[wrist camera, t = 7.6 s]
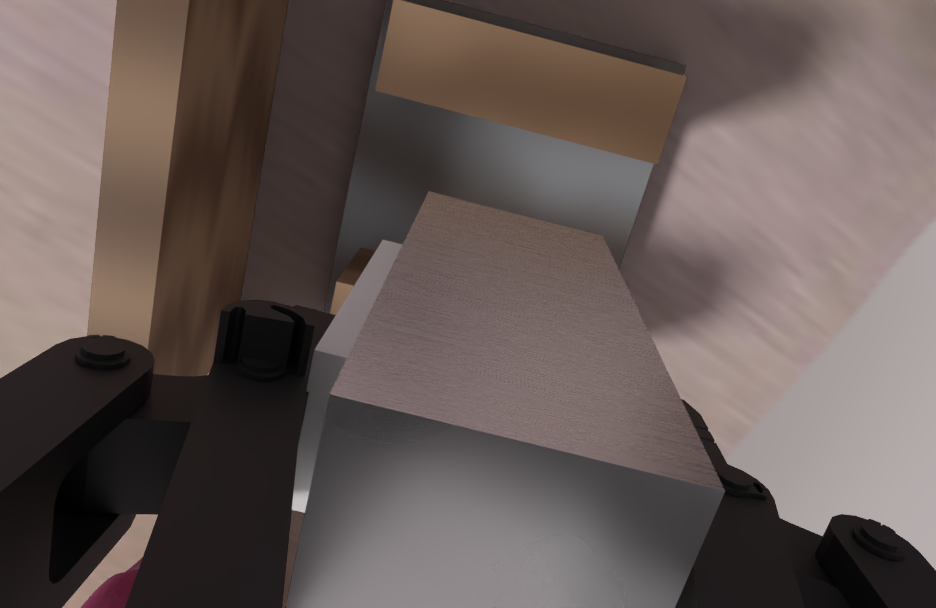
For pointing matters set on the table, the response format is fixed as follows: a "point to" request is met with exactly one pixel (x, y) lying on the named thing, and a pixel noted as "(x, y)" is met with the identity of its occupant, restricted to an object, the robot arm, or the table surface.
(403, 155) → the wooden prong rack
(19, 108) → the table surface
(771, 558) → the robot arm
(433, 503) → the grey rectangular block
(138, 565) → the high heel
